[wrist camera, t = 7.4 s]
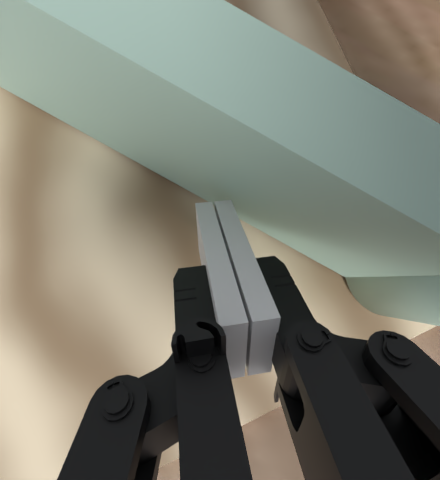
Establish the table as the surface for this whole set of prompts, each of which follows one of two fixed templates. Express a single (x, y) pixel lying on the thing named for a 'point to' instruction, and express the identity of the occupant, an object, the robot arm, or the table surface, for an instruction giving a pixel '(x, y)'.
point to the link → (246, 130)
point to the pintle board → (118, 270)
